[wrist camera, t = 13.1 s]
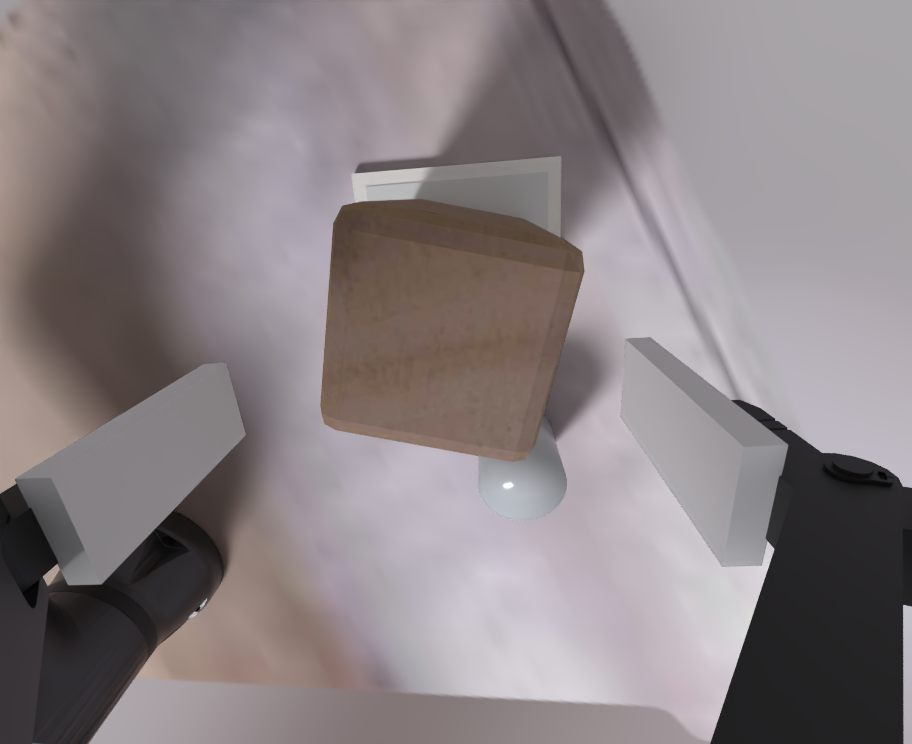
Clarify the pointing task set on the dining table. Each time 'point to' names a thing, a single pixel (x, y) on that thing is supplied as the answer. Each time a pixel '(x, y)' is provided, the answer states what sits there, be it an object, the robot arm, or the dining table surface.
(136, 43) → the dining table surface
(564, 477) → the pale grey egg
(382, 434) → the wooden block
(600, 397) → the dining table surface
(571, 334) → the dining table surface
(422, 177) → the shallow square tray
